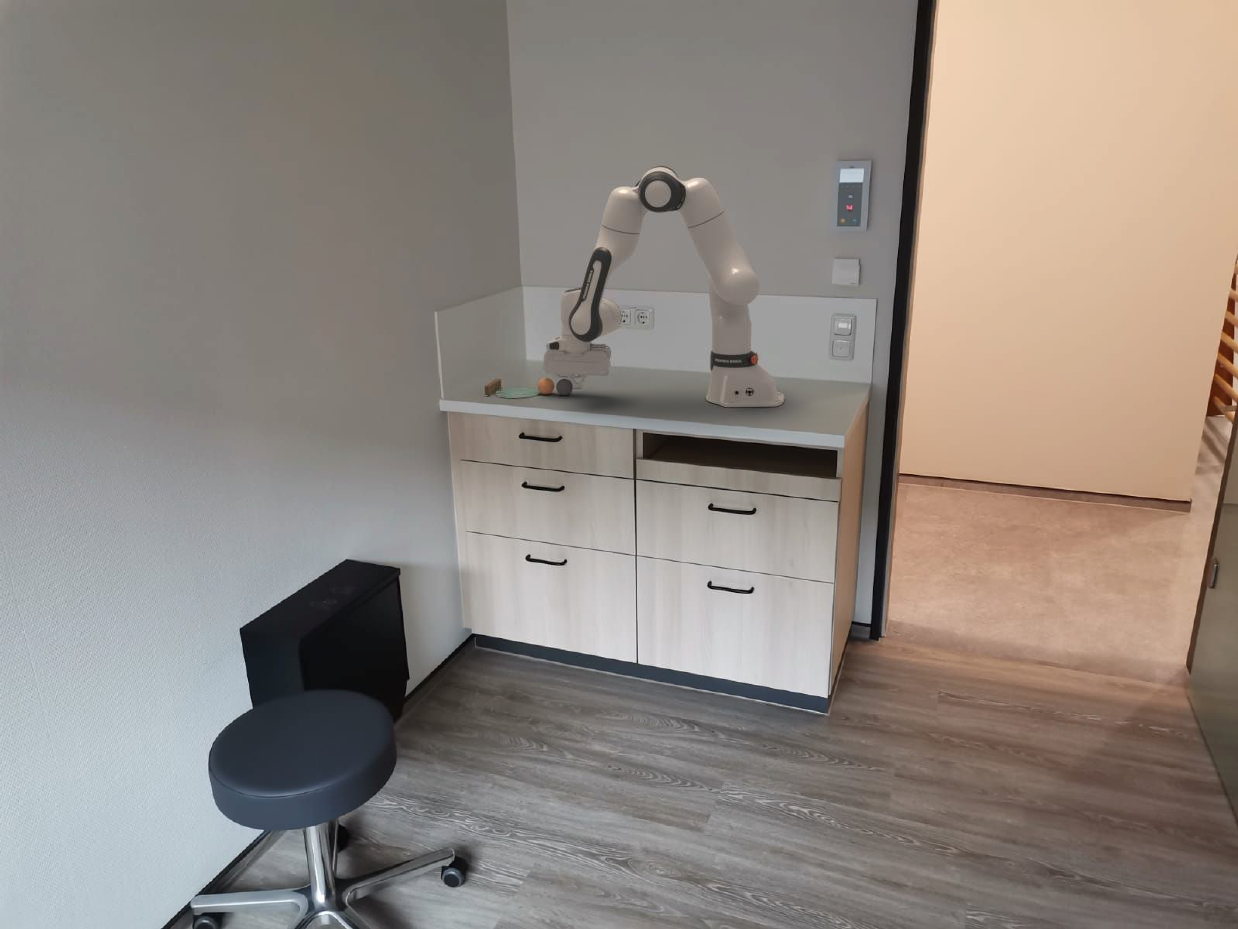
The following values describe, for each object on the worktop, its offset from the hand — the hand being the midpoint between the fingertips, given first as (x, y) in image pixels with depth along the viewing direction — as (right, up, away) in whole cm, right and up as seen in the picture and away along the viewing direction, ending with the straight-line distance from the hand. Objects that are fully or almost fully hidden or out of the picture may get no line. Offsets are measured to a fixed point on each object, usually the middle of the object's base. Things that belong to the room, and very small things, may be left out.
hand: (577, 388), depth 274 cm
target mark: (-18, -1, +5) cm, 19 cm away
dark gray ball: (-4, +1, +1) cm, 4 cm away
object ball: (-10, +1, +2) cm, 10 cm away
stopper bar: (-26, 0, +7) cm, 27 cm away
